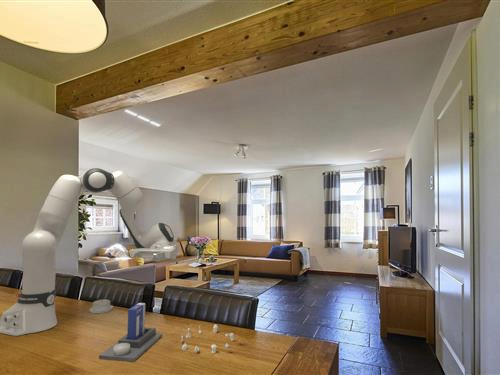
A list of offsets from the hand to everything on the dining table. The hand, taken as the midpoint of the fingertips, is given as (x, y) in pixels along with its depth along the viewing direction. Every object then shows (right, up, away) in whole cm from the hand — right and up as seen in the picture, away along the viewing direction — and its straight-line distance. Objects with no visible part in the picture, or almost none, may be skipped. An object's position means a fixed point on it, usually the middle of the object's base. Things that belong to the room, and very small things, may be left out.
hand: (144, 255), depth 130 cm
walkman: (+4, -25, -21) cm, 33 cm away
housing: (+4, -26, -24) cm, 36 cm away
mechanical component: (-26, -30, +15) cm, 42 cm away
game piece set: (+29, -27, -20) cm, 45 cm away
